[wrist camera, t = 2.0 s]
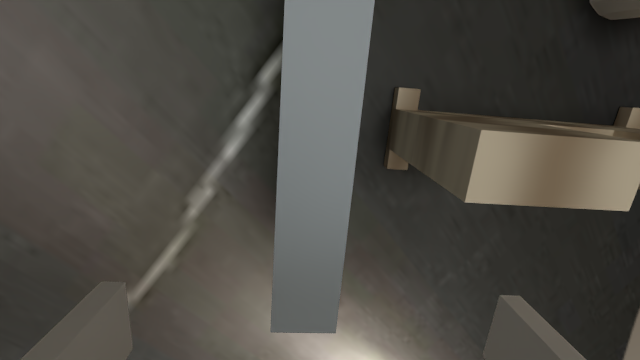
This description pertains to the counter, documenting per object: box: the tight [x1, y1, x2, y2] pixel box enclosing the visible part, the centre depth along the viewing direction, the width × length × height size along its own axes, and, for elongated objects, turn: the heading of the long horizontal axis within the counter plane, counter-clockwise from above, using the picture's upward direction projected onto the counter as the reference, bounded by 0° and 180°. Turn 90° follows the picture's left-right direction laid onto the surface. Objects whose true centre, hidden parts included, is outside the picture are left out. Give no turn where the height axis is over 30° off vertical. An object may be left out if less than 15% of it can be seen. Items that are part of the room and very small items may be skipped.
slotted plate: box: [271, 0, 375, 333], centre depth 17 cm, size 18×3×12 cm, turn 175°
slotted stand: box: [384, 87, 640, 211], centre depth 19 cm, size 20×6×12 cm, turn 85°
